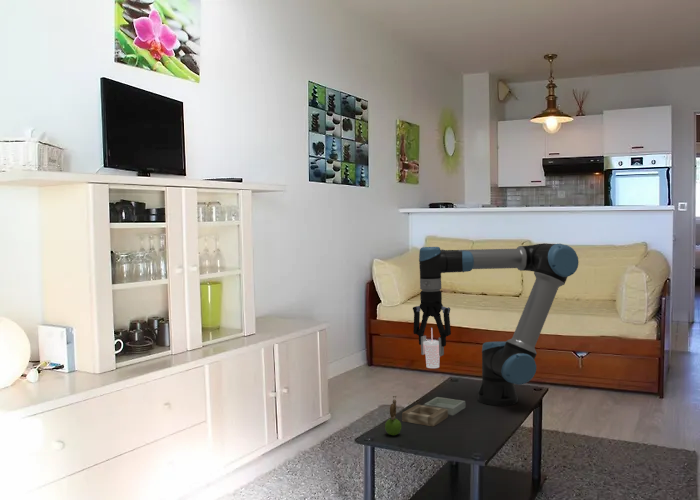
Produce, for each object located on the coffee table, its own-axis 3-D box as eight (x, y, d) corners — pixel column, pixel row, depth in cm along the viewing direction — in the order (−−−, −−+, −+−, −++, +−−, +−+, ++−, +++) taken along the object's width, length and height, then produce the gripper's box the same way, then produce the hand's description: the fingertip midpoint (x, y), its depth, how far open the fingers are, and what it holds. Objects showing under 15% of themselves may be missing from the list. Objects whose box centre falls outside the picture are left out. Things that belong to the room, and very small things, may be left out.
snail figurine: (403, 431, 212) (402, 396, 211) (400, 438, 205) (400, 401, 205) (386, 430, 213) (386, 395, 212) (383, 437, 207) (383, 400, 206)
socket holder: (447, 417, 227) (447, 409, 227) (433, 426, 217) (433, 417, 217) (417, 412, 233) (417, 404, 233) (402, 421, 223) (402, 412, 223)
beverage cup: (421, 366, 229) (420, 327, 229) (435, 364, 232) (434, 325, 231) (429, 369, 224) (428, 329, 223) (444, 367, 226) (443, 328, 226)
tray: (465, 407, 239) (465, 400, 239) (453, 415, 229) (453, 408, 229) (436, 403, 245) (436, 396, 245) (423, 410, 235) (423, 404, 235)
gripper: (402, 290, 228) (403, 354, 229) (452, 292, 219) (453, 358, 220) (410, 288, 235) (412, 350, 236) (460, 289, 225) (461, 354, 226)
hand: (432, 354), depth 228 cm, fingers closed on beverage cup, 6 cm apart
